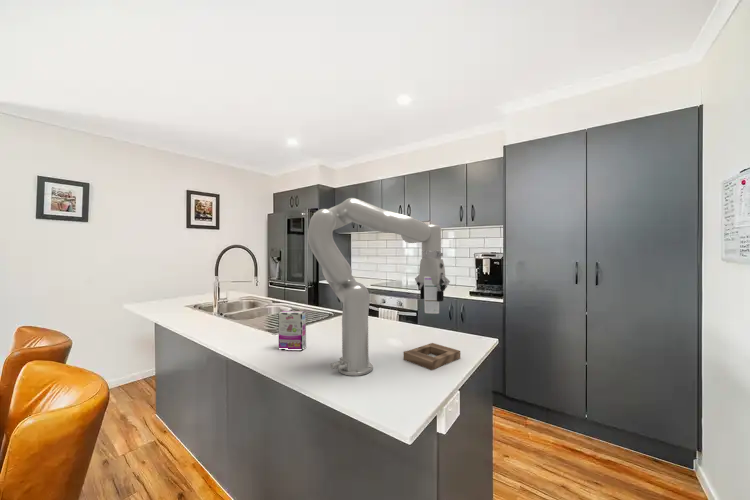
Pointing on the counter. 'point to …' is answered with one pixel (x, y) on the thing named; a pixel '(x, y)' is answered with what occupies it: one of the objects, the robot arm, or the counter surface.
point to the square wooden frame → (429, 362)
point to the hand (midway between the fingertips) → (431, 299)
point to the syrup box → (430, 297)
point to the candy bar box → (292, 329)
